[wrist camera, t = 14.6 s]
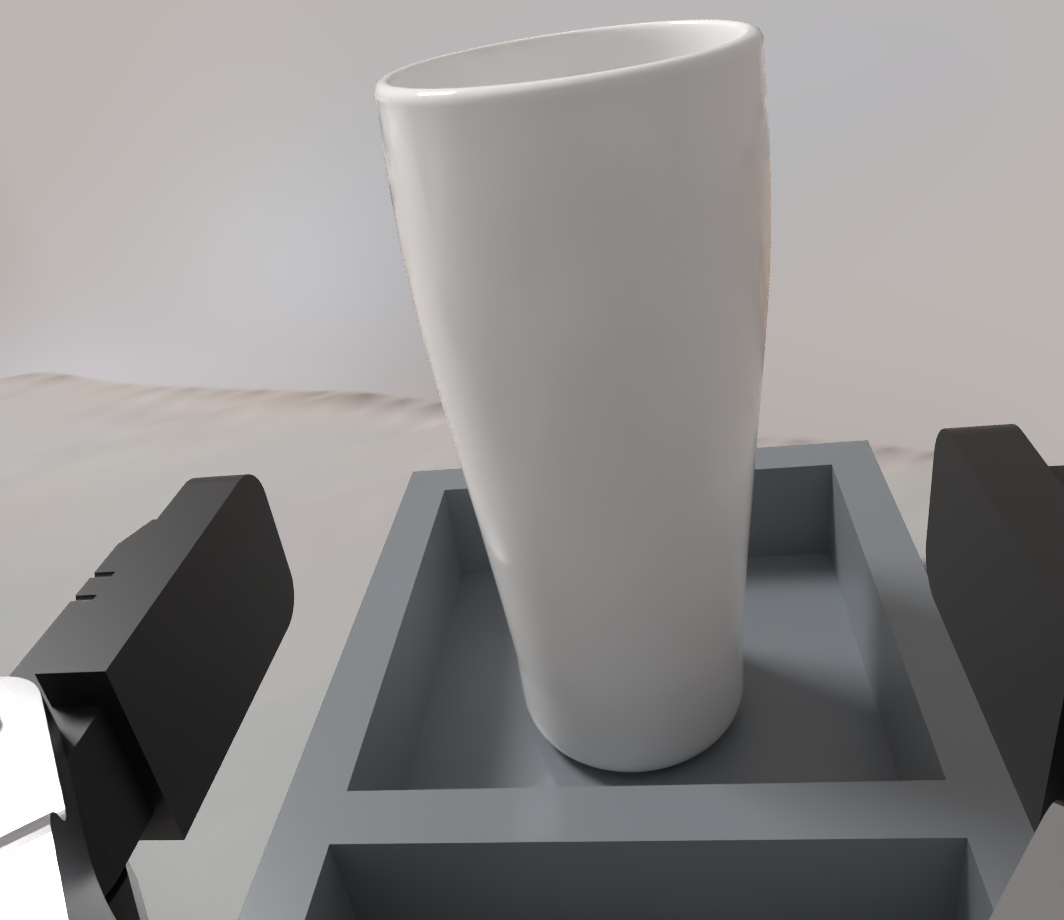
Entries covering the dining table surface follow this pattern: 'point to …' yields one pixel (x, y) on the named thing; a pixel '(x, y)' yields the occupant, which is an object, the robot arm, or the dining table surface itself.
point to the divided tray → (666, 794)
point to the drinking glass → (600, 354)
